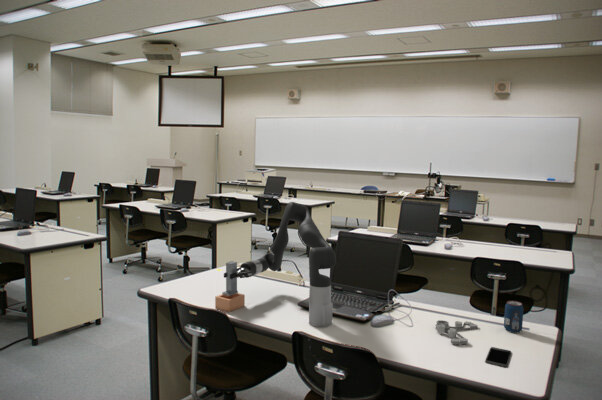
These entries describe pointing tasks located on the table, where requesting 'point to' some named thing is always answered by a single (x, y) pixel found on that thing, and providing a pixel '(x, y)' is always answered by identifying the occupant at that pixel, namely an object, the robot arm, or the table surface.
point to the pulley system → (444, 327)
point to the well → (230, 302)
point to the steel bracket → (230, 283)
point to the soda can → (513, 316)
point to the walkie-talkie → (391, 306)
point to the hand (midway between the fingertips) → (227, 276)
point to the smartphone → (498, 357)
